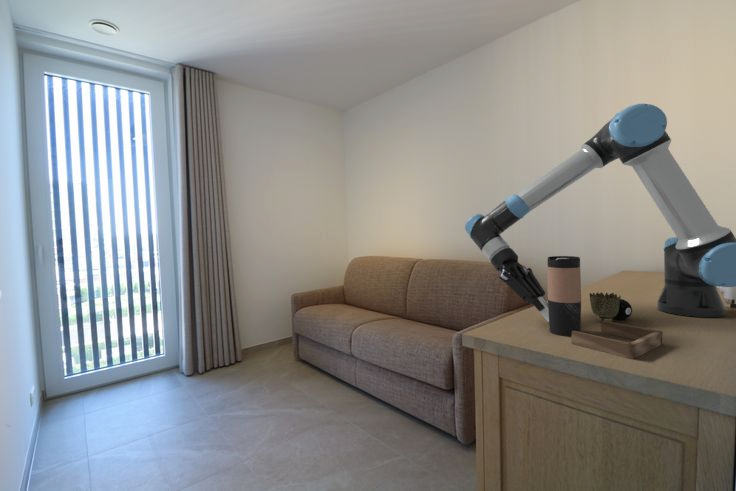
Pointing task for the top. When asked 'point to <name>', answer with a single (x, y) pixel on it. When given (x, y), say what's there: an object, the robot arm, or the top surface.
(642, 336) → the shallow wooden tray
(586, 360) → the top surface
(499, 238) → the robot arm
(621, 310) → the billiard ball
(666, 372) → the top surface
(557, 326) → the travel mug
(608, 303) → the cup
